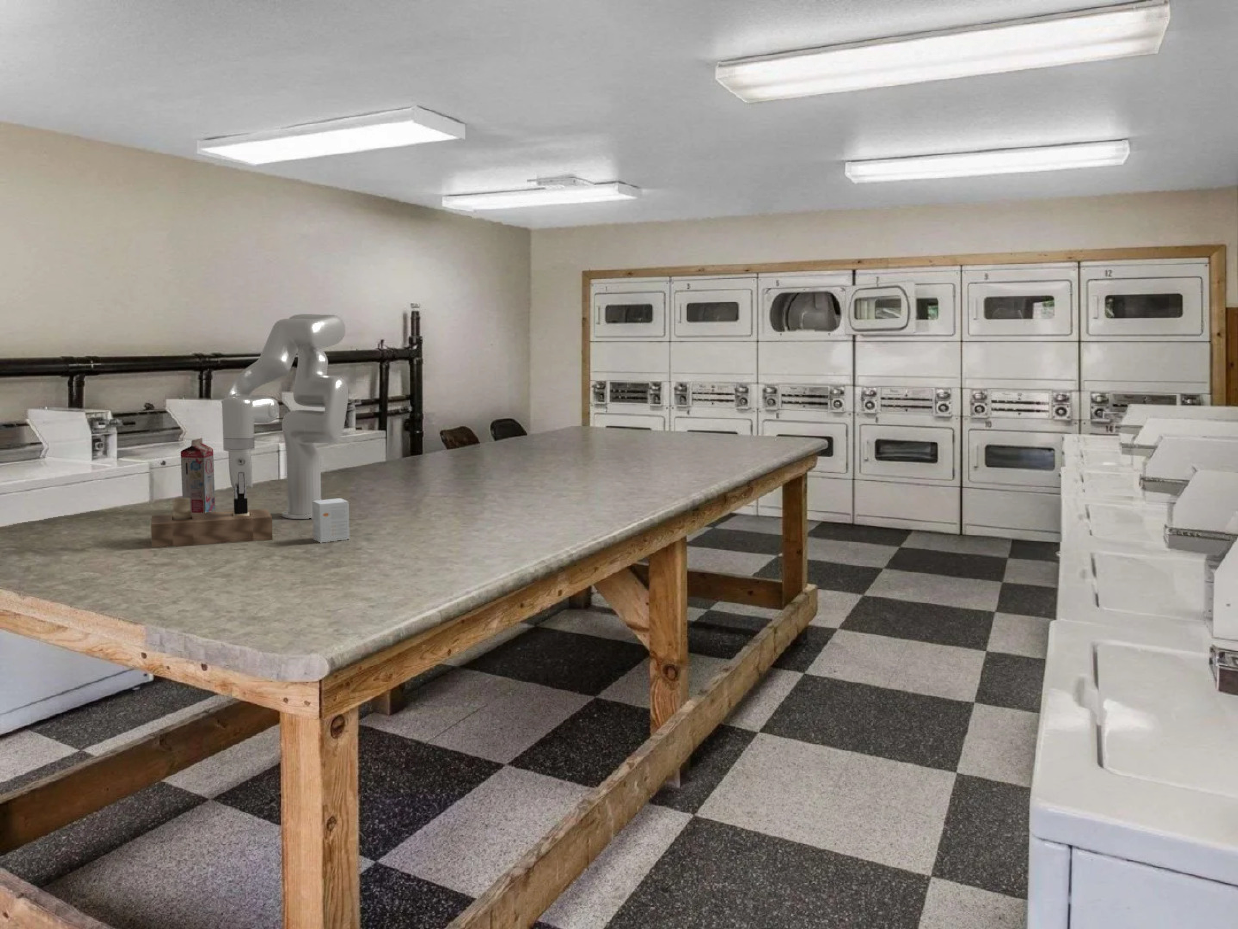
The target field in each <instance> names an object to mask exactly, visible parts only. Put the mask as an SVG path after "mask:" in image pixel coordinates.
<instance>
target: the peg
mask: <svg viewBox="0 0 1238 929" xmlns="http://www.w3.org/2000/svg"><path fill="white" fill-rule="evenodd" d="M172 514H173V520H188V519H191V510H190V498H182V497H176V498H172Z"/></svg>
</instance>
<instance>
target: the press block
mask: <svg viewBox="0 0 1238 929" xmlns="http://www.w3.org/2000/svg"><path fill="white" fill-rule="evenodd" d="M248 512H249V515H250V516H239V517H233V513H234V510H228V511H227V510H226V511H223V510H222V511H212V512H206V513H191V519H188V520H173V513H171V514H157V515H156V514H155V515H154V514H152V515H151V517H150V518H151V519H150V520H151V521H150V531H151V532H150V535H151V549H155V548H154V547H162V548H168V547H167V546H176V547H186V546H187V547H188V546H201V544H204V545H214V544H215V543H218V544H227V543H226V542H232V543H237V542H236V541H246V542H255V541H254V540H260V541H270V540H272V541H273V537H274V536H273V517H272V515H271V512H270V511H269V510H268V508H263V509H248ZM215 545H216V544H215Z"/></svg>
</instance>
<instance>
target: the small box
mask: <svg viewBox="0 0 1238 929" xmlns="http://www.w3.org/2000/svg"><path fill="white" fill-rule="evenodd" d="M349 503H350V502H349V501H348V500H346V499H343V498H341V497H340V498H339V497H338V498H329V499H328V498H327V499H322V500H316V501H312V518H311V520H312V539H313V540H314V541H316V540H317V541H318V542H317V541H316V542H317V543H319V542H320V544H323V543H322V542H326V543H331V542H330V541H334V542H338V541H337V540H342V541H348V540H347V539H349V540H350V514H349V513H350V510H349V507H350V506H349Z"/></svg>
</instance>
